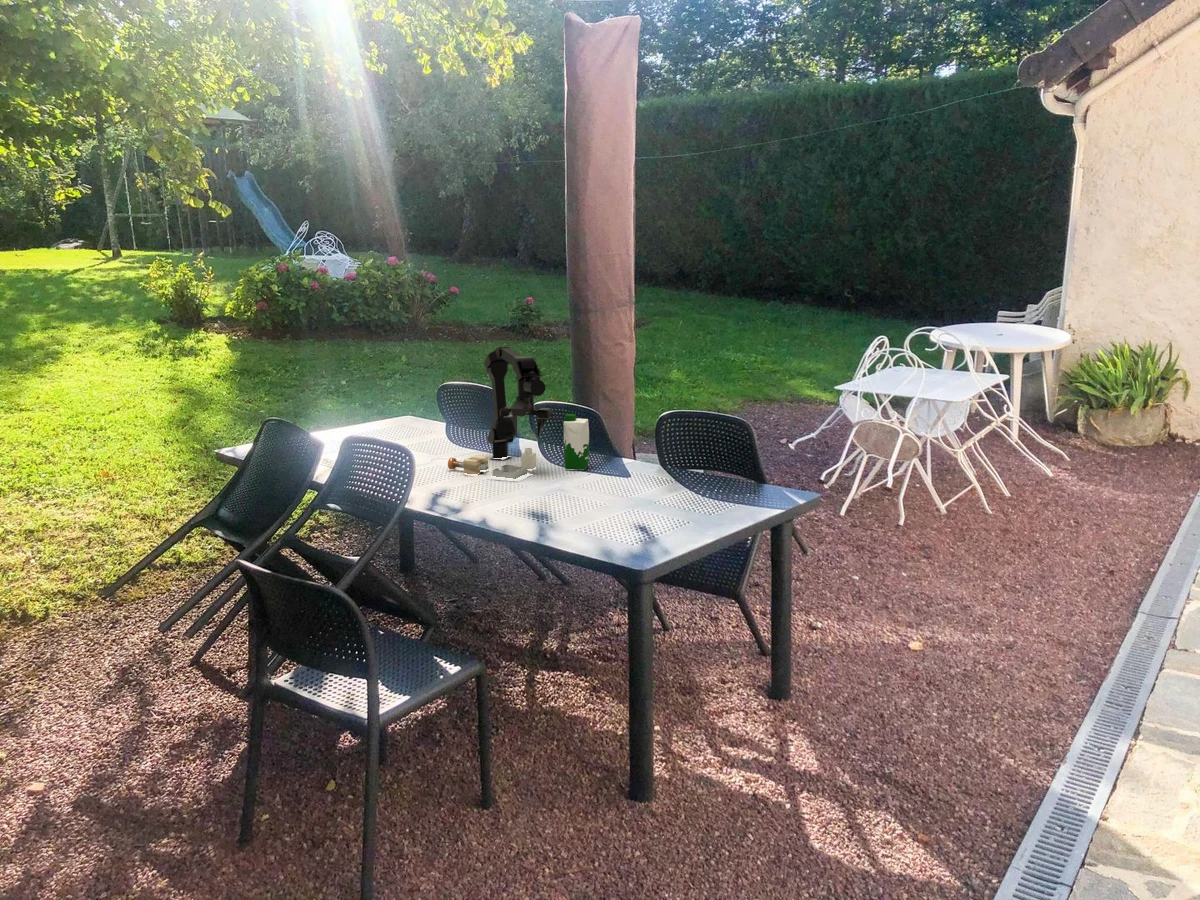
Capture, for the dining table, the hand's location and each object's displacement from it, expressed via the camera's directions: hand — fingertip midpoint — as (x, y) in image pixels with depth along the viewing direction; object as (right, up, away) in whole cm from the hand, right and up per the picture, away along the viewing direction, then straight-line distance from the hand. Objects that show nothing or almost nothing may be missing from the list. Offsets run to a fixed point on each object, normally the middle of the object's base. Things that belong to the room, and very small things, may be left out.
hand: (527, 435), depth 342 cm
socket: (-6, -15, -5) cm, 17 cm away
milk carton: (+18, -12, +7) cm, 22 cm away
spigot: (0, -12, +5) cm, 13 cm away
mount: (-18, -13, +1) cm, 23 cm away
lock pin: (-21, -13, +2) cm, 25 cm away
